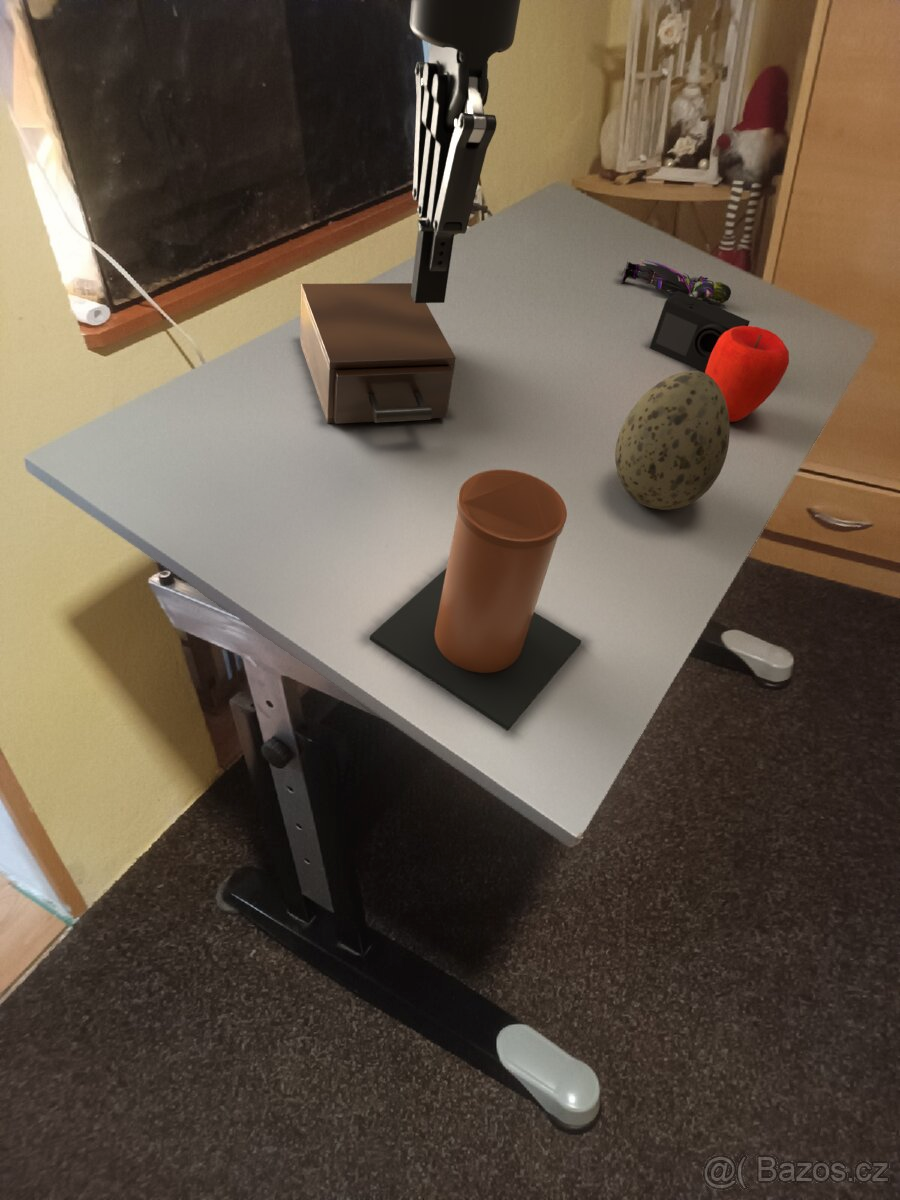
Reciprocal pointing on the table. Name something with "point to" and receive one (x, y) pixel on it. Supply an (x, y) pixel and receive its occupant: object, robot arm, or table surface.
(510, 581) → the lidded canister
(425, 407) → the drawer
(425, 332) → the cabinet
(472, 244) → the table surface
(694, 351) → the digital camera
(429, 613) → the mat
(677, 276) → the character figure
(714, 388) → the decorative egg
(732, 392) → the apple
